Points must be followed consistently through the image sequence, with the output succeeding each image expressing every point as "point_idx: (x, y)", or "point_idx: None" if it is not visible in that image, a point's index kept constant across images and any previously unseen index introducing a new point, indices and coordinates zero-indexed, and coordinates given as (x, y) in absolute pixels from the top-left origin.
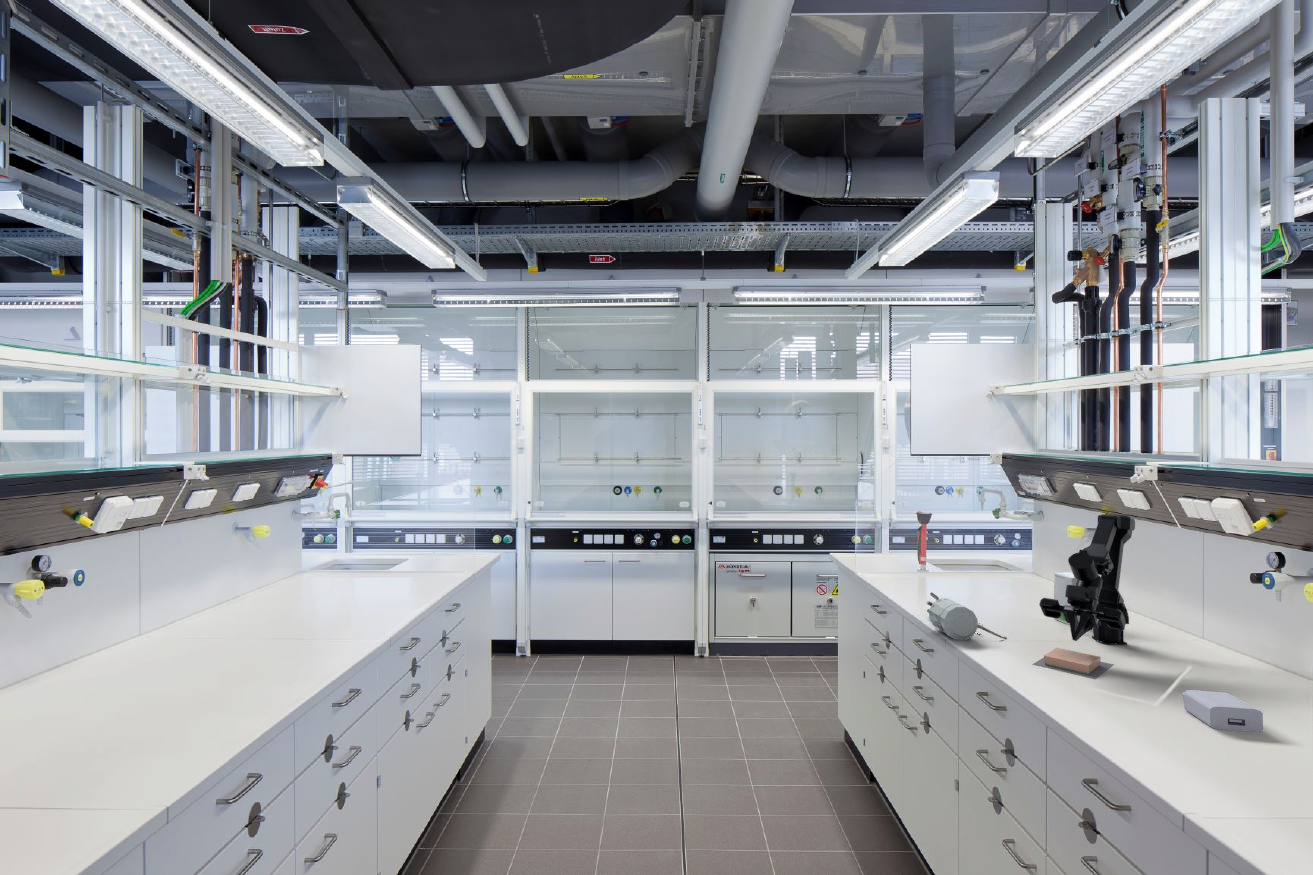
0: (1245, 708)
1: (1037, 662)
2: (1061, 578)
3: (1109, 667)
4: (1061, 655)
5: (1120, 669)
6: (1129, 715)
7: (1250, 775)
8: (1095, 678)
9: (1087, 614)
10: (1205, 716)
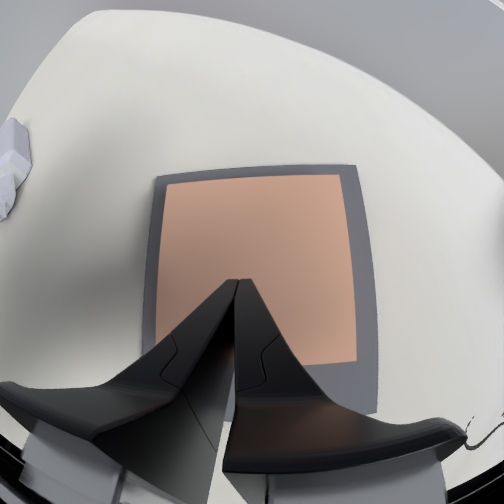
0: None
1: (357, 198)
2: None
3: None
4: (290, 234)
5: None
6: (109, 77)
7: (48, 69)
8: (157, 182)
9: (29, 394)
10: (23, 130)
